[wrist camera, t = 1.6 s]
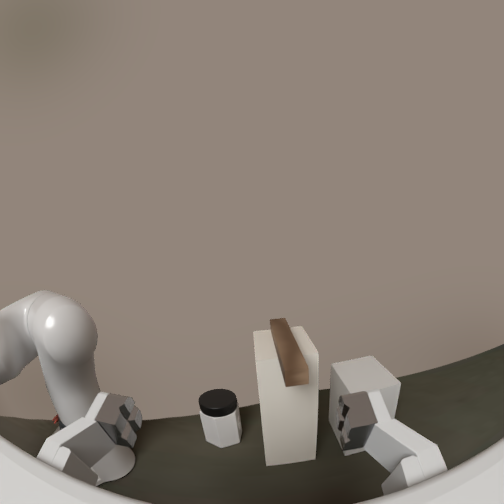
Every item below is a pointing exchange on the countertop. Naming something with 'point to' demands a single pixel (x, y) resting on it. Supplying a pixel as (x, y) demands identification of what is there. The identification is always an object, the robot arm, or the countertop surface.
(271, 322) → the bar
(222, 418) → the jar
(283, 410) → the tall stand
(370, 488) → the countertop surface
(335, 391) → the low stand
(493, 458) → the robot arm
